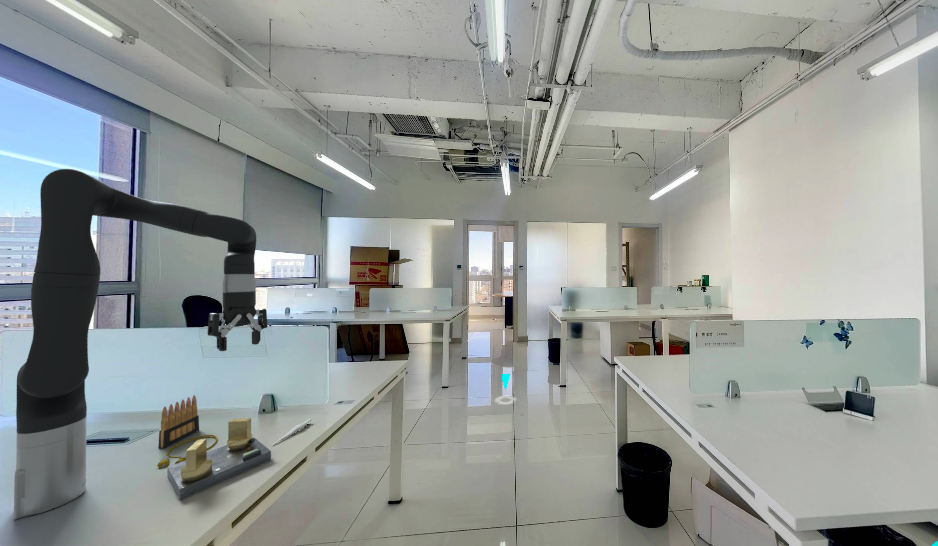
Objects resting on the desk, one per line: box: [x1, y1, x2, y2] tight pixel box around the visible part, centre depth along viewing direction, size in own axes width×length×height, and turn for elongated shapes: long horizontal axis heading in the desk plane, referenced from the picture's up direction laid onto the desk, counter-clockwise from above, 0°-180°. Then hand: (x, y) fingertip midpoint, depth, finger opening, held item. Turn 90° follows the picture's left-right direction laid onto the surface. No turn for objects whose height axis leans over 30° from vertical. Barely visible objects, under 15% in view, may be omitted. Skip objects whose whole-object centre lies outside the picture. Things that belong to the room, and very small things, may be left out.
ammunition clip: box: [158, 394, 200, 449], centre depth 93 cm, size 11×2×12 cm, turn 176°
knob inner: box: [180, 438, 212, 482], centre depth 72 cm, size 6×6×7 cm
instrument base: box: [167, 435, 272, 501], centre depth 78 cm, size 18×14×4 cm
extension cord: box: [156, 434, 218, 469], centre depth 86 cm, size 12×16×2 cm
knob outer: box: [226, 417, 256, 451], centre depth 84 cm, size 6×6×7 cm
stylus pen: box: [272, 418, 312, 446], centre depth 95 cm, size 15×3×2 cm, turn 164°
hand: (239, 347), depth 85 cm, fingers open, 8 cm apart
